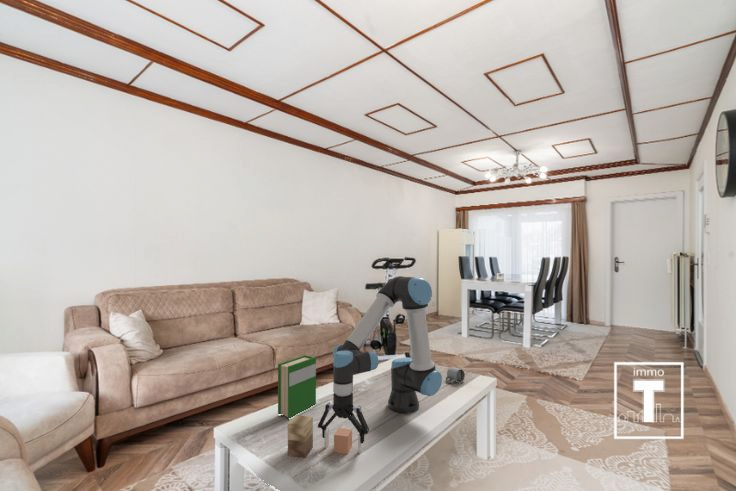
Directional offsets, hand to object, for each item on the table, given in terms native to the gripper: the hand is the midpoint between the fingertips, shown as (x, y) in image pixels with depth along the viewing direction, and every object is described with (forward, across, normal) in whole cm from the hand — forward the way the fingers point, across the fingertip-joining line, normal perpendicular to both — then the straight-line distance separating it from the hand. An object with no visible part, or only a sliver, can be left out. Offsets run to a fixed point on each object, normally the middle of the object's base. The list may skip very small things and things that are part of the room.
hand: (343, 448), depth 138 cm
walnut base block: (0, +15, +6) cm, 16 cm away
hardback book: (0, +32, -26) cm, 41 cm away
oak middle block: (-6, +15, +6) cm, 17 cm away
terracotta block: (0, 0, 0) cm, 0 cm away
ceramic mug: (0, -39, -86) cm, 95 cm away
